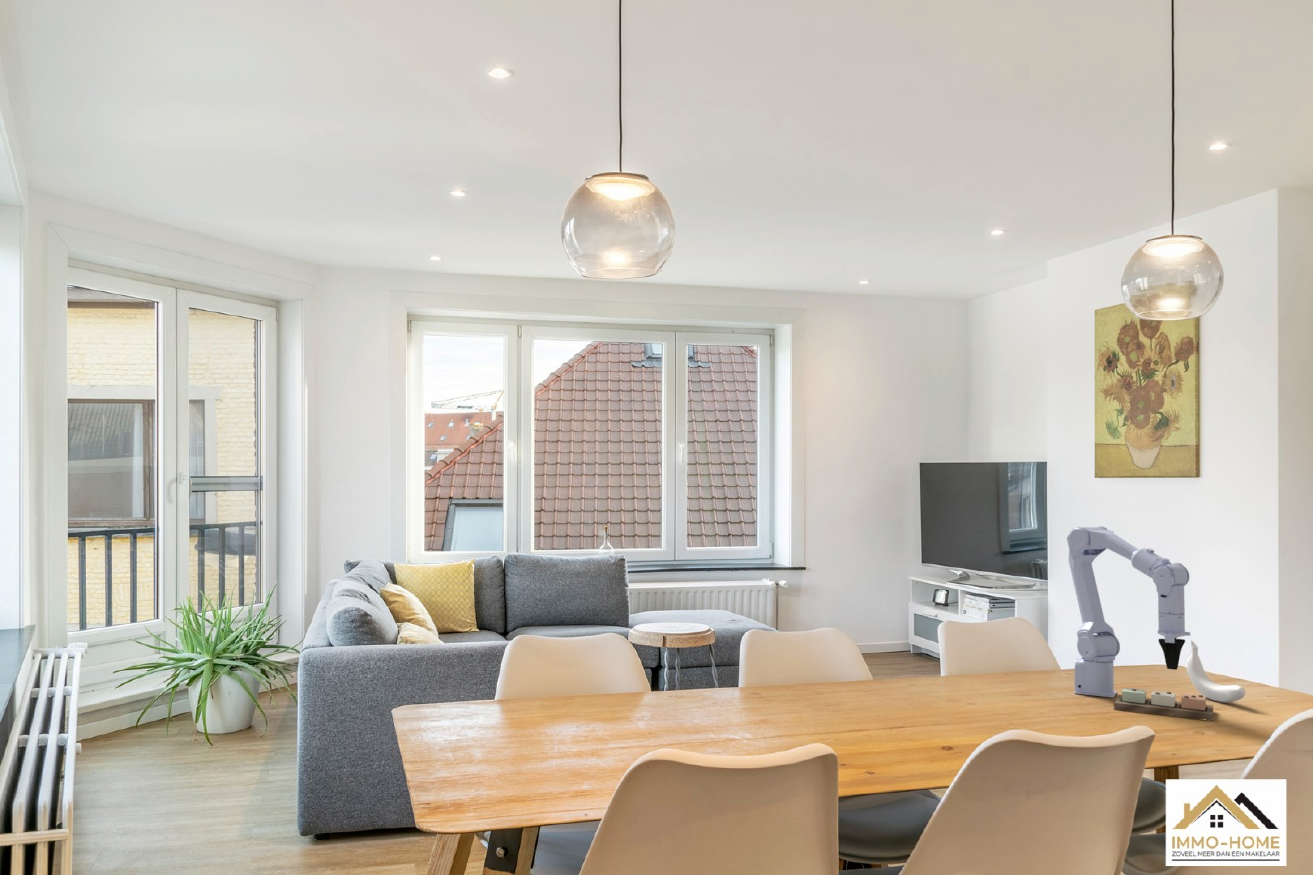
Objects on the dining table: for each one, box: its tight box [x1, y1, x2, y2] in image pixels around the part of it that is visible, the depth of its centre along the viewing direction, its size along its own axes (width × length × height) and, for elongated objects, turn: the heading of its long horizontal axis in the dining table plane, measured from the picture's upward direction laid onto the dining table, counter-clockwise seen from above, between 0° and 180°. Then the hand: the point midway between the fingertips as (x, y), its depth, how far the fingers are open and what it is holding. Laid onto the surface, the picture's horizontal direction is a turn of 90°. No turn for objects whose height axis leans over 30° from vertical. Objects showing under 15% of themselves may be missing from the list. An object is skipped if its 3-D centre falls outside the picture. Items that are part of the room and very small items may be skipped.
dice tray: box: [1113, 694, 1214, 722], centre depth 240 cm, size 21×11×2 cm, turn 59°
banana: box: [1185, 640, 1246, 703], centre depth 252 cm, size 5×19×15 cm, turn 15°
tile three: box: [1180, 693, 1207, 710], centre depth 237 cm, size 5×5×3 cm
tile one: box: [1121, 687, 1147, 703], centre depth 243 cm, size 5×5×3 cm
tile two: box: [1150, 690, 1177, 707], centre depth 240 cm, size 5×5×3 cm
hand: (1172, 668), depth 239 cm, fingers closed
